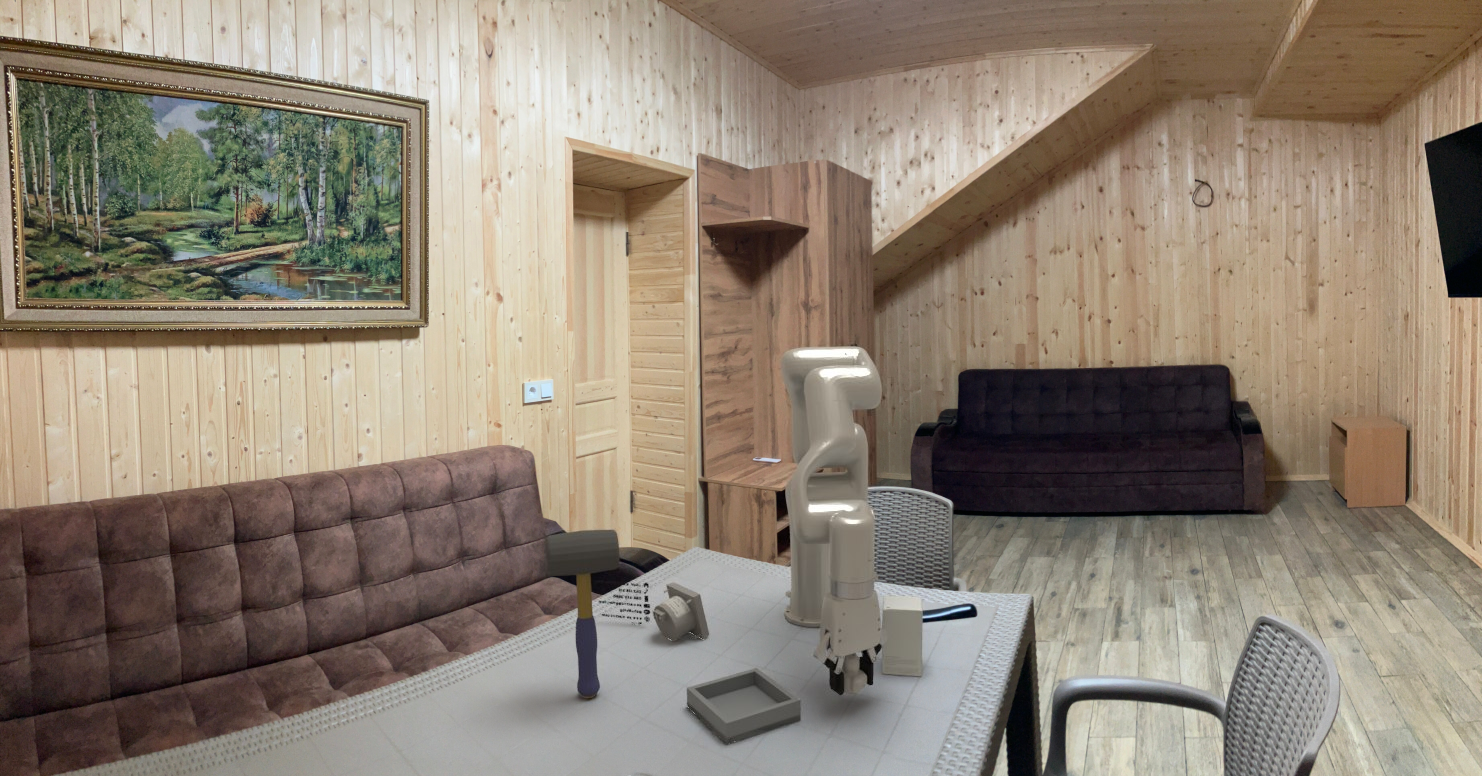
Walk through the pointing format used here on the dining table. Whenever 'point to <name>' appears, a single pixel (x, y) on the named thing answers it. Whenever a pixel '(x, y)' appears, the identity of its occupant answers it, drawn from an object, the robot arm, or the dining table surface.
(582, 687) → the rubber mallet
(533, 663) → the dining table surface
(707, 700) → the tray
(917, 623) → the supplement box
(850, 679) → the beige rounded piece
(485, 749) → the dining table surface
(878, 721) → the dining table surface
